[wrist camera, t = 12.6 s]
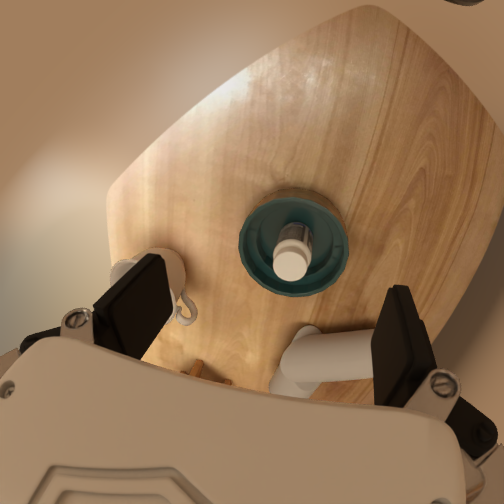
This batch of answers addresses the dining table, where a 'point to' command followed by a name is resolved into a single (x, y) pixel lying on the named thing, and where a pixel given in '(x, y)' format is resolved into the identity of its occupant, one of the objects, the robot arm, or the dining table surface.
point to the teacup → (174, 277)
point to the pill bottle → (293, 251)
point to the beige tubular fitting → (322, 361)
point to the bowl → (268, 230)
